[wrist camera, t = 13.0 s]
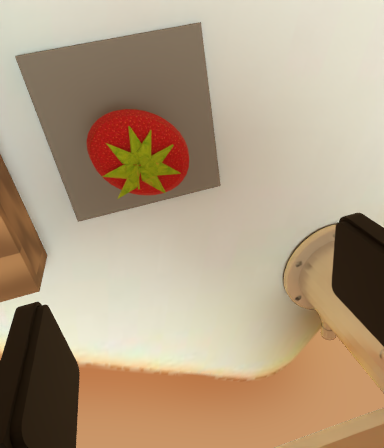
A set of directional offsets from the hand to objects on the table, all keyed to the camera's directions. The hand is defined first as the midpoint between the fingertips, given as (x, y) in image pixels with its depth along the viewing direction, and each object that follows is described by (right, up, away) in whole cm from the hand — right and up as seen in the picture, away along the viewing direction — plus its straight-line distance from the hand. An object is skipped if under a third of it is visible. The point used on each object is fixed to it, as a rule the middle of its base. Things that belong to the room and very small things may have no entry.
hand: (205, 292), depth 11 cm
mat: (-5, +10, +19) cm, 22 cm away
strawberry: (-5, +10, +18) cm, 22 cm away
